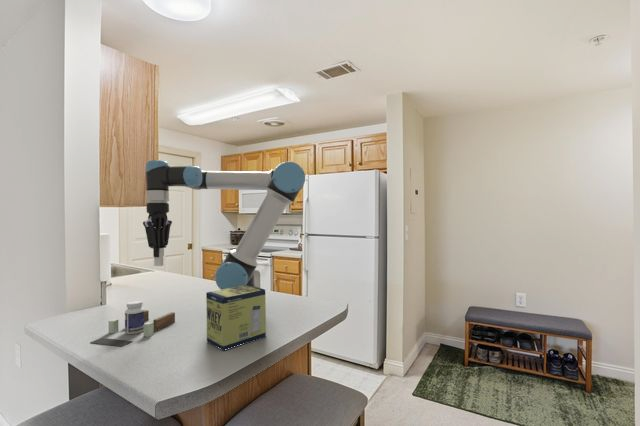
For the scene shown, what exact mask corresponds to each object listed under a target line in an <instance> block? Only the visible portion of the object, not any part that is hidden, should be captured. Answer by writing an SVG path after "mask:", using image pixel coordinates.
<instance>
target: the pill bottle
mask: <svg viewBox="0 0 640 426" xmlns="http://www.w3.org/2000/svg"><path fill="white" fill-rule="evenodd" d="M143 304H144V303H143V300H134V301H129V302H126V308H127V309H125V311H124V333H125V334H126V335H136V334H140V333H142V332H144V324H145V322H144V311H145V308H144V307H143Z"/></svg>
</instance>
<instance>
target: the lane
mask: <svg viewBox="0 0 640 426" xmlns="http://www.w3.org/2000/svg"><path fill="white" fill-rule="evenodd" d="M149 313H150V312H149V310H145V309H144V323H146V321H147V322H148V321H149V320H150V319H149V317H150V316H149ZM152 322H153V331H159V330H162V329H164V328H166V327H168V326H171V325H172V324H173V323H175V322H176V313H175V312H173V311H171V312H169V313H166V314H164V315H162V316H159V317H157V318H155V319H153V321H152Z"/></svg>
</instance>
